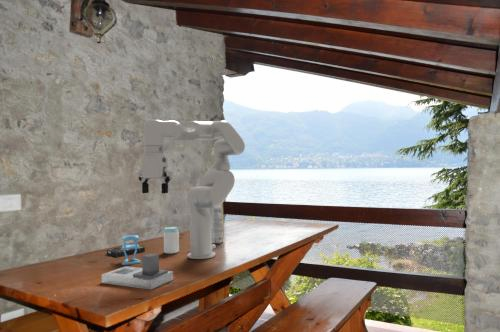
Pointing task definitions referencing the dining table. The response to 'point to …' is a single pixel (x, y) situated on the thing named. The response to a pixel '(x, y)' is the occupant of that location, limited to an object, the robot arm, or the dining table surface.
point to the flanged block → (150, 267)
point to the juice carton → (217, 224)
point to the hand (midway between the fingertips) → (155, 193)
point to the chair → (126, 238)
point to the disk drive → (119, 251)
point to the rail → (134, 278)
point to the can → (171, 240)
